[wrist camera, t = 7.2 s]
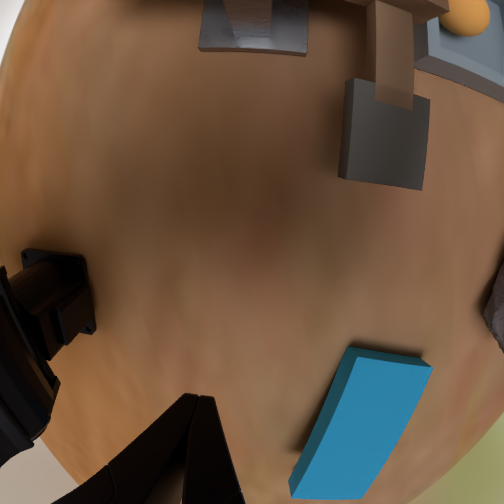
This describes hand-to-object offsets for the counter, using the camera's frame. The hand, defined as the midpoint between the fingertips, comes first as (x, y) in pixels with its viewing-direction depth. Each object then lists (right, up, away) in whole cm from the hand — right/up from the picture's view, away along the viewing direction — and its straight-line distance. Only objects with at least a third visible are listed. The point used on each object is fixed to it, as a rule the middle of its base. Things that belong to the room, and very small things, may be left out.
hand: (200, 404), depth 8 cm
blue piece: (+9, -11, +17) cm, 22 cm away
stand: (+2, +21, +5) cm, 22 cm away
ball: (+14, +19, +3) cm, 24 cm away
